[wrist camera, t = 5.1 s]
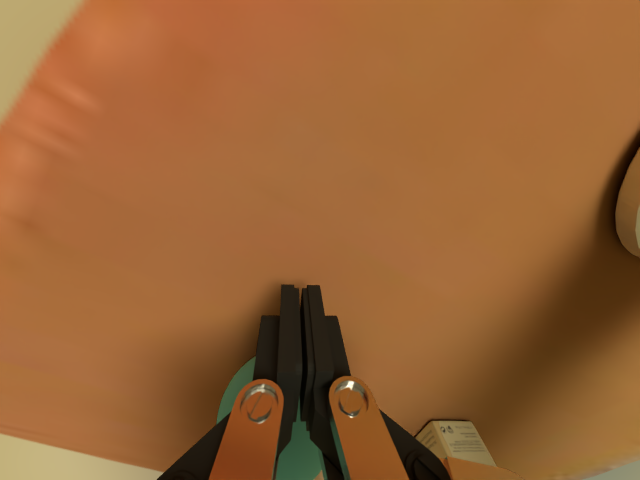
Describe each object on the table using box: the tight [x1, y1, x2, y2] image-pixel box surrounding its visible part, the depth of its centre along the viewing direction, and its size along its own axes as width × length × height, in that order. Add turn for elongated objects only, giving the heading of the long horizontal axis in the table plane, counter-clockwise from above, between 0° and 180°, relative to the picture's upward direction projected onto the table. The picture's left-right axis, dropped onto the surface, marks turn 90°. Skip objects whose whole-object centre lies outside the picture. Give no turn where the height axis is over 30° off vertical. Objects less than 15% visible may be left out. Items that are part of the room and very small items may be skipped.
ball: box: [216, 356, 322, 480], centre depth 12 cm, size 6×6×6 cm
